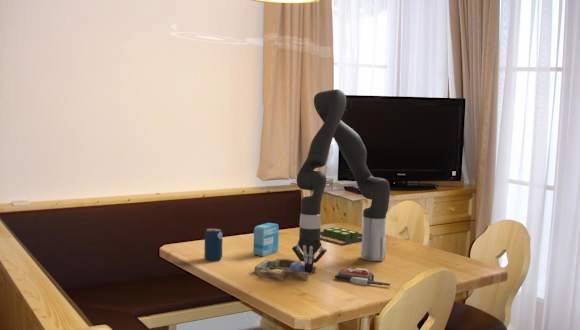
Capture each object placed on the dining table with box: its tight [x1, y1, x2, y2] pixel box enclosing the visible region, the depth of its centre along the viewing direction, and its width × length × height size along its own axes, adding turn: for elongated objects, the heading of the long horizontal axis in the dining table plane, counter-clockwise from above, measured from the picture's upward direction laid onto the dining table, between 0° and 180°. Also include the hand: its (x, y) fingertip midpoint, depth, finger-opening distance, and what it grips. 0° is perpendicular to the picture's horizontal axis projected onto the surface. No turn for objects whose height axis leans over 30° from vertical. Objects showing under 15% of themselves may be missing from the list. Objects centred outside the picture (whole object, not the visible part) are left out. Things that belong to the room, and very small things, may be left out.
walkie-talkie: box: [334, 267, 391, 287], centre depth 211 cm, size 9×4×20 cm
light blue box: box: [253, 222, 280, 257], centre depth 245 cm, size 12×4×12 cm, turn 149°
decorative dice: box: [290, 262, 305, 272], centre depth 216 cm, size 4×4×4 cm
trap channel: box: [254, 257, 317, 282], centre depth 218 cm, size 20×20×2 cm
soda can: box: [203, 227, 224, 262], centre depth 233 cm, size 7×7×12 cm
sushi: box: [320, 226, 362, 247], centre depth 280 cm, size 25×25×4 cm
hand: (308, 273), depth 215 cm, fingers closed
